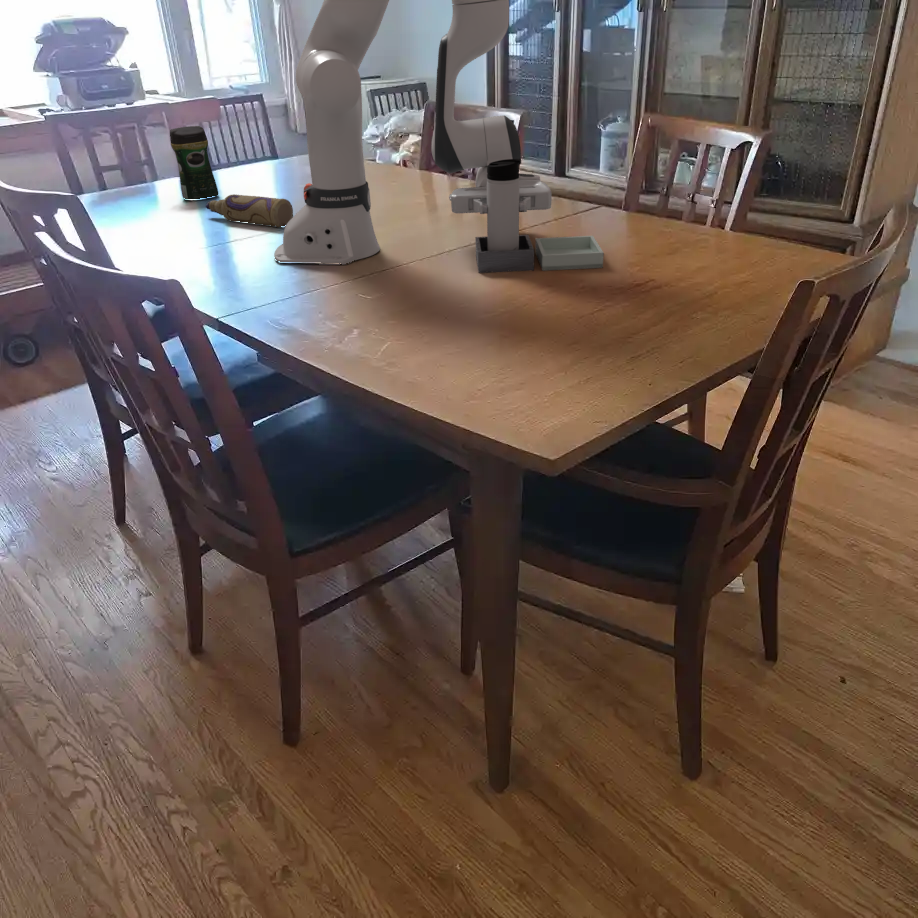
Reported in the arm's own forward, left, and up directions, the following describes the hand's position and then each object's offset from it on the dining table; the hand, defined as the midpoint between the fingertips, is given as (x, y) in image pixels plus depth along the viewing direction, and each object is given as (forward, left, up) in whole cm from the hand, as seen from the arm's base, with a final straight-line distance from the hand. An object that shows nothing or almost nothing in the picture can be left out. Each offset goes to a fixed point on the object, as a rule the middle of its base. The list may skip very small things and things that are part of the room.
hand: (503, 208), depth 154 cm
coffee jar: (-79, +72, -11) cm, 107 cm away
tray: (+13, +1, -11) cm, 17 cm away
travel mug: (0, +1, -11) cm, 11 cm away
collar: (0, +1, -11) cm, 11 cm away
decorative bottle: (-59, +44, -11) cm, 75 cm away
